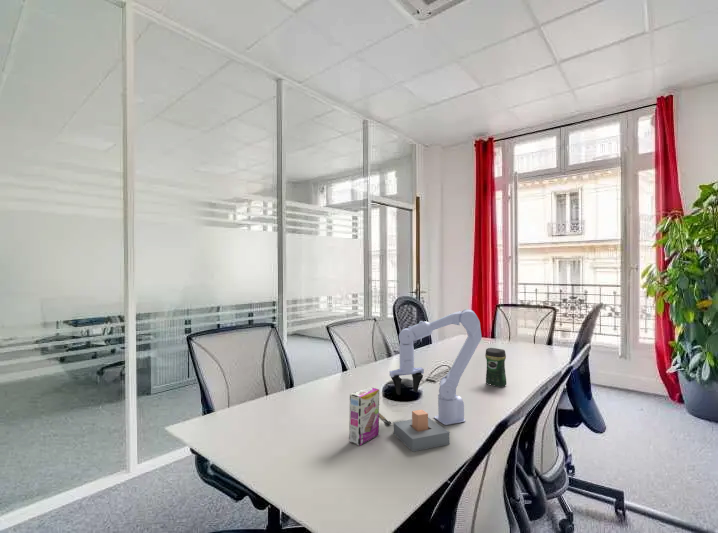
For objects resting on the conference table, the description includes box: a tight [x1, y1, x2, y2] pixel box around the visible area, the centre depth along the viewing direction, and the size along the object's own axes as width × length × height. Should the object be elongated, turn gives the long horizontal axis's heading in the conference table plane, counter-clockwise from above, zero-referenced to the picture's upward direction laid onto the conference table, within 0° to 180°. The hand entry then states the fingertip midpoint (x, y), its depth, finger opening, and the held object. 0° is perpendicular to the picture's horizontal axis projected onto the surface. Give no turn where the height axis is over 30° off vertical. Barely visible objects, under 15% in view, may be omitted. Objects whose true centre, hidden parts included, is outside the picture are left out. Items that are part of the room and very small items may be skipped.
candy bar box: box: [348, 386, 380, 447], centre depth 126 cm, size 11×5×16 cm, turn 141°
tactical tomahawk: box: [379, 412, 392, 425], centre depth 146 cm, size 21×7×1 cm, turn 17°
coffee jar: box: [484, 347, 507, 388], centre depth 186 cm, size 10×8×19 cm
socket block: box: [392, 417, 450, 452], centre depth 126 cm, size 14×14×4 cm
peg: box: [411, 409, 429, 432], centre depth 126 cm, size 4×4×9 cm
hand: (407, 392), depth 146 cm, fingers open, 7 cm apart
